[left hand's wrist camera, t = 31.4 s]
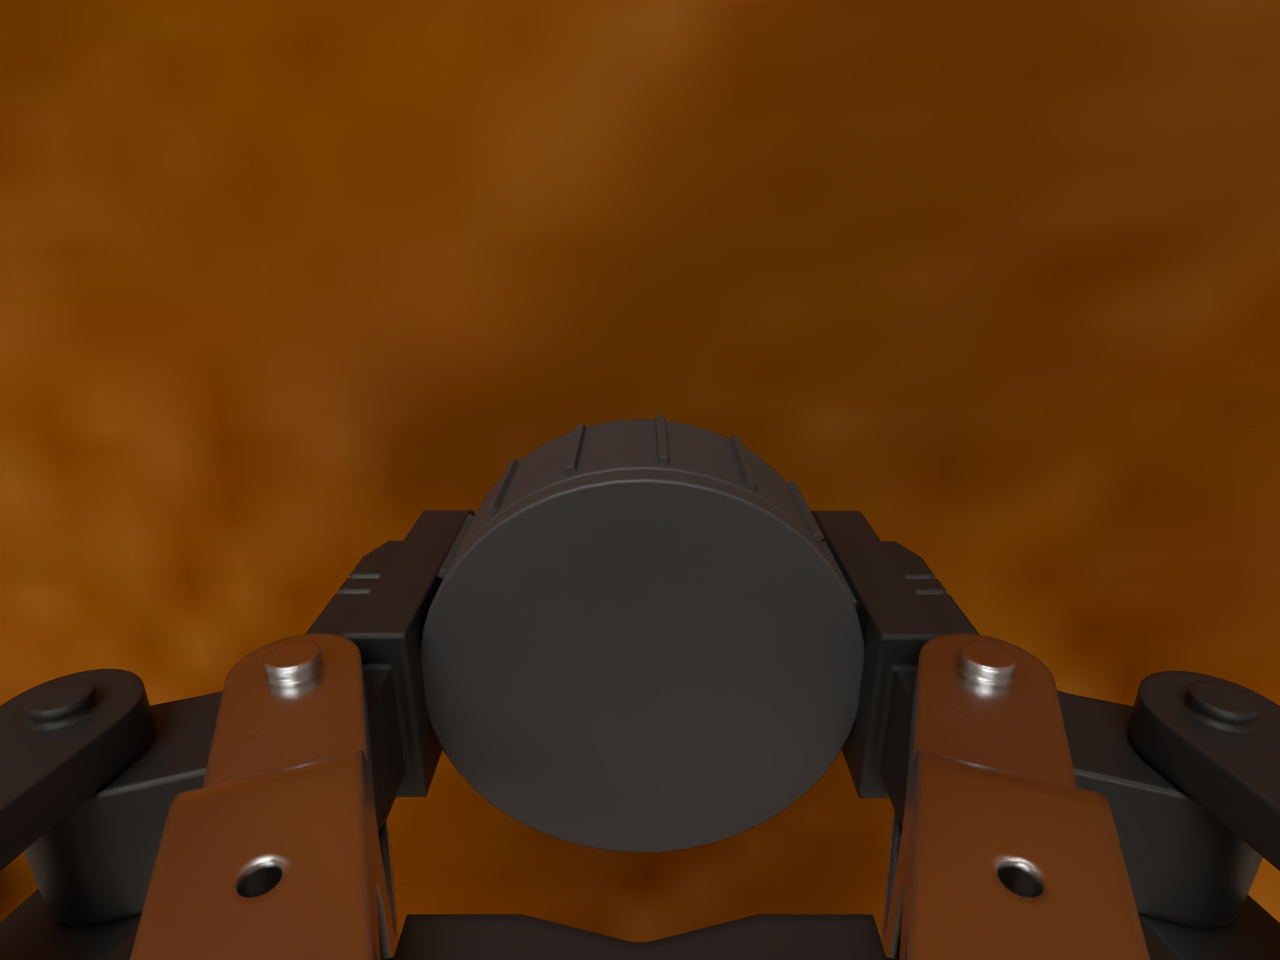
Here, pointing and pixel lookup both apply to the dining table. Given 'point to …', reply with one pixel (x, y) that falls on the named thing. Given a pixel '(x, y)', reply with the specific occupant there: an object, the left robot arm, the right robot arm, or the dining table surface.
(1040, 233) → the dining table surface
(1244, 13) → the dining table surface
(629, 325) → the dining table surface
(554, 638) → the lid
